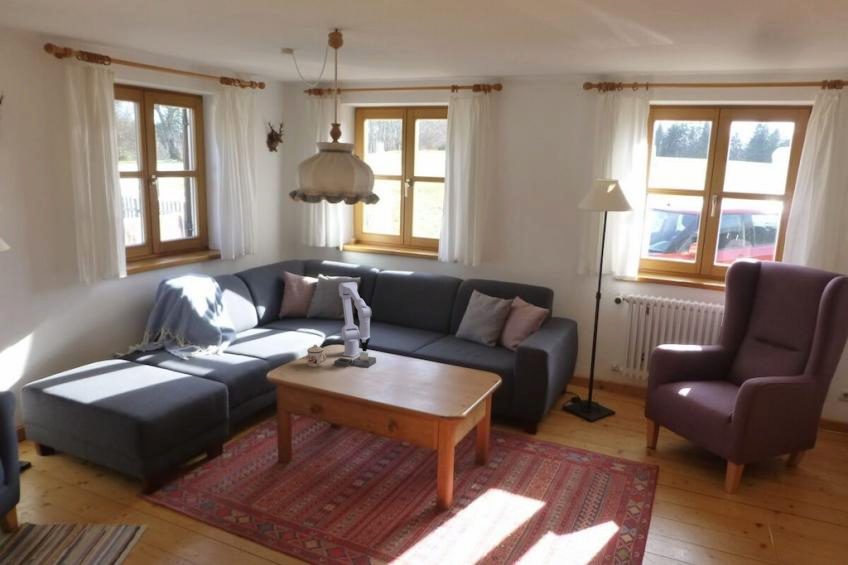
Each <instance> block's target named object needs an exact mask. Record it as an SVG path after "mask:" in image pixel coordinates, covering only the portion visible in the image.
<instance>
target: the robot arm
mask: <svg viewBox="0 0 848 565" xmlns="http://www.w3.org/2000/svg"><path fill="white" fill-rule="evenodd" d="M338 292H339V293H338V294H339V297H340V298H341V299H342V307H343V318H344V323H345V324H344V326H342V328H341V334H340V335H341V336H340V337H341V339H342V340H343V341H344V353H342V354H341V356H343V357H349V358H350V357H351V358H354V357H356V356H359V355H360V352H361V351H360V345H361V349H362V352H368V351H367V350H368V345H369V342H370V339H371V335H370V334H371V333H370V332H371V331H370V328H371V326H370V324H371V317H372V313H373V312H372V309H371V307H370V306H368V305H367V304H366V302H365V301H364V299H363V298H361V297H360V295H359V292H358V283H357V282H355V281H352V282H340V283H339V284H338ZM351 298H352V300H353V301H354V303H353V304H354V306H355V308H356V309H357V315H358V321H359V327H358V325H356V324H354V322H355V321H354V316H353V308H352V307H353V306H352V300H351Z"/></svg>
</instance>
